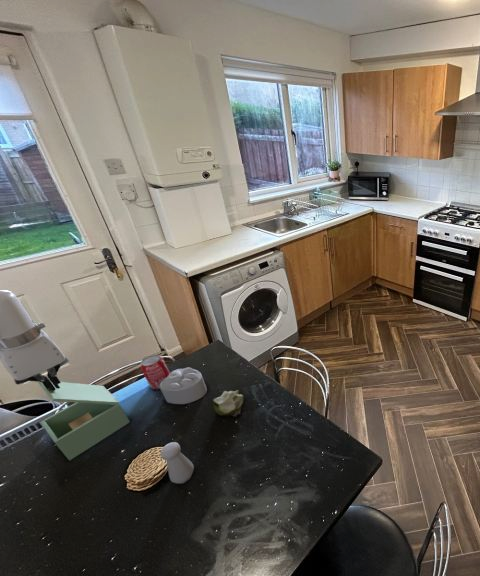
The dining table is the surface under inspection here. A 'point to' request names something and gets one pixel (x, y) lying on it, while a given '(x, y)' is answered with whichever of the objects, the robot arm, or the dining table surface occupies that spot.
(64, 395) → the lid
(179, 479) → the salt shaker
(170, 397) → the lumpy-topped squat cylinder
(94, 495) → the dining table surface
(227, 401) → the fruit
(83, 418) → the block
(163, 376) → the soda can
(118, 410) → the chest
